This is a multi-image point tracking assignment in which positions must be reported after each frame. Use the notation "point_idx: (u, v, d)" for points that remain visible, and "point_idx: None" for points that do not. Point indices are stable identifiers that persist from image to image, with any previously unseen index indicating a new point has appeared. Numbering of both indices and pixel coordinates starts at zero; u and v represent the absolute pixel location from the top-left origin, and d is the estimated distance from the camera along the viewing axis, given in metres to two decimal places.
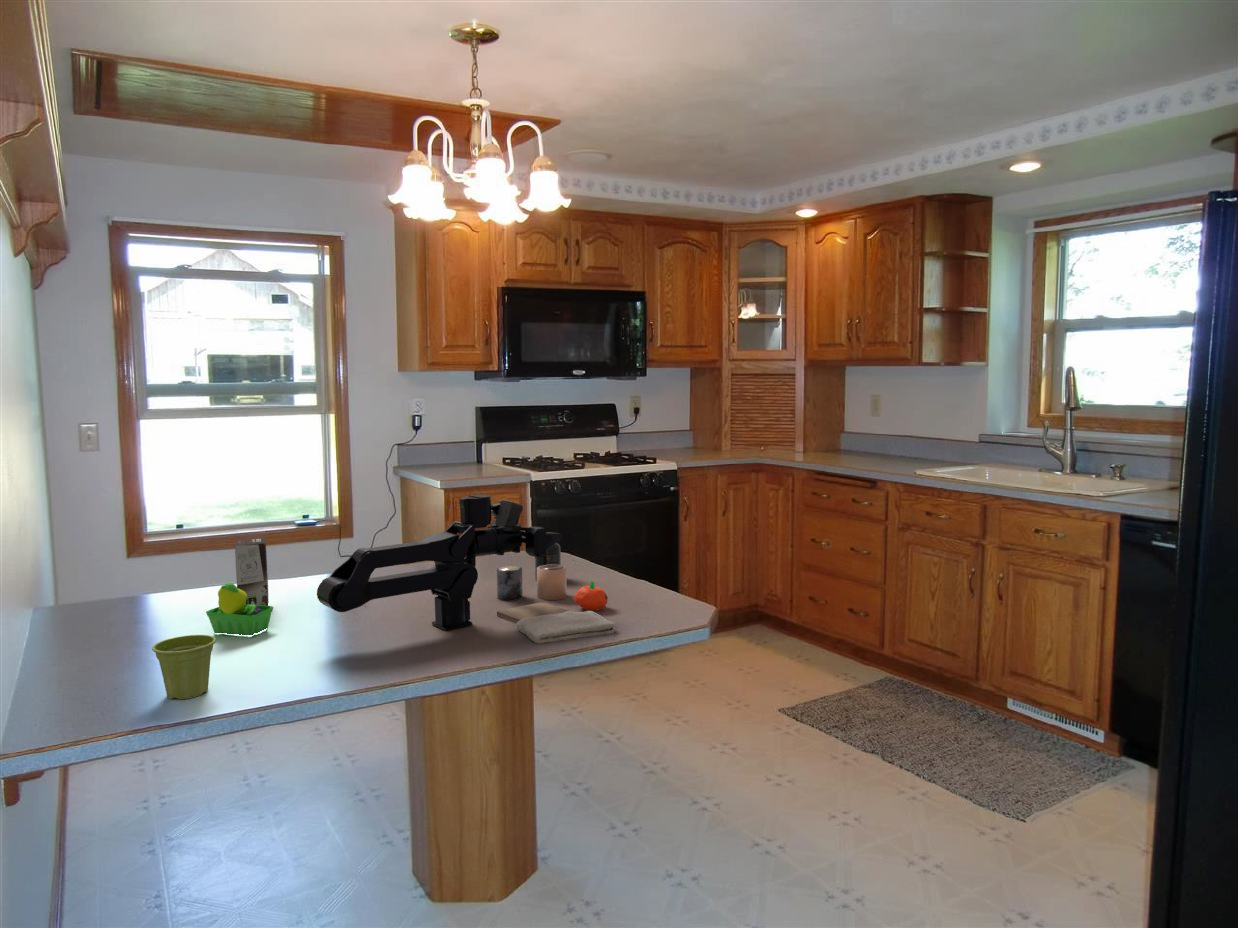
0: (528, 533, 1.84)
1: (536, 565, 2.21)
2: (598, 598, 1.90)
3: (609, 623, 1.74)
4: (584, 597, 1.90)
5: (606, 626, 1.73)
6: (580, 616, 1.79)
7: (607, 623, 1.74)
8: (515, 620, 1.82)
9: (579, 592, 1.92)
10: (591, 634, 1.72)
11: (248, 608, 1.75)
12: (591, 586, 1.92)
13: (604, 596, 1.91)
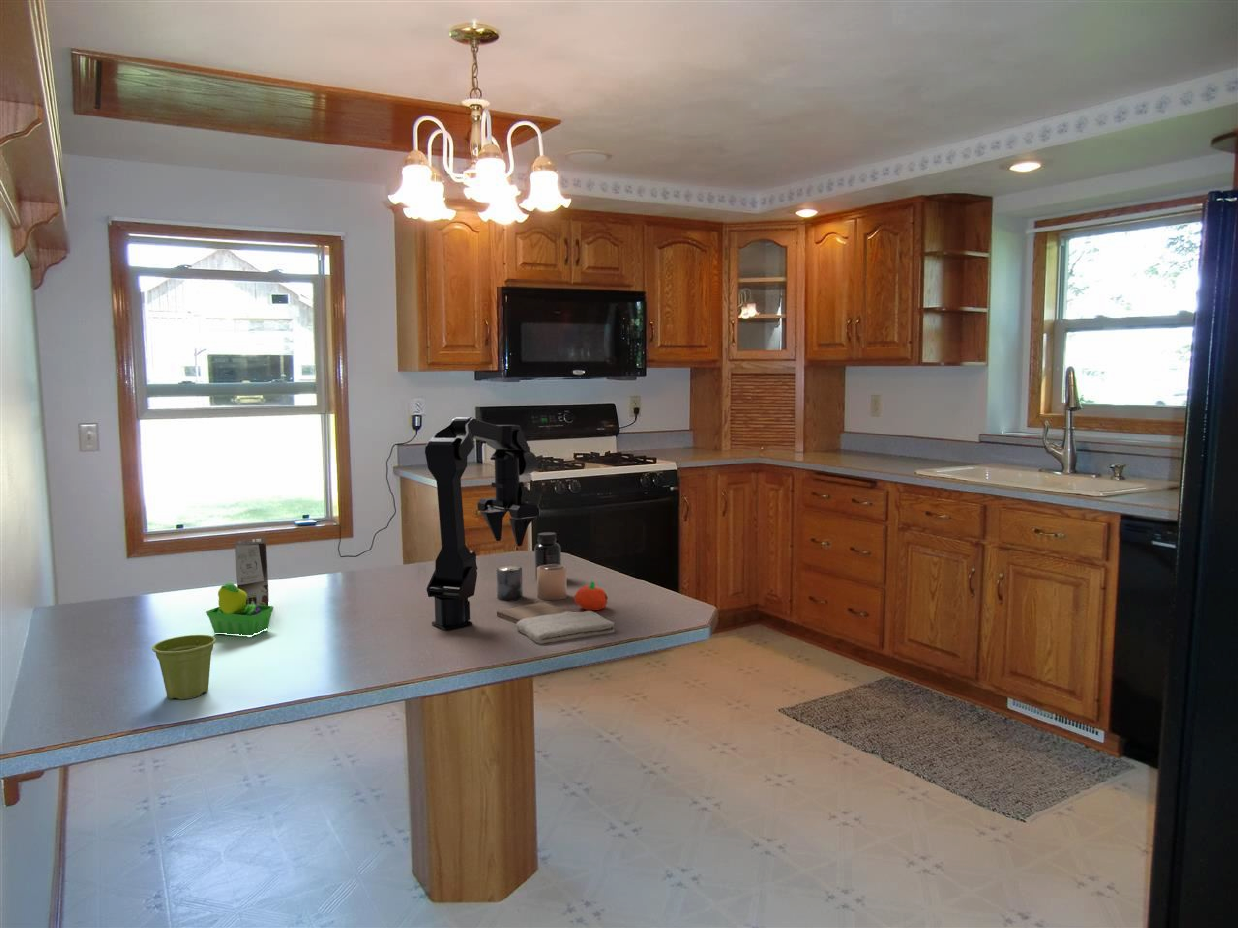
0: (530, 503, 1.98)
1: (536, 565, 2.21)
2: (598, 598, 1.90)
3: (609, 623, 1.74)
4: (584, 597, 1.90)
5: (607, 626, 1.74)
6: (580, 616, 1.79)
7: (607, 623, 1.74)
8: (515, 620, 1.82)
9: (579, 592, 1.92)
10: (592, 634, 1.73)
11: (248, 608, 1.75)
12: (591, 586, 1.92)
13: (604, 596, 1.91)
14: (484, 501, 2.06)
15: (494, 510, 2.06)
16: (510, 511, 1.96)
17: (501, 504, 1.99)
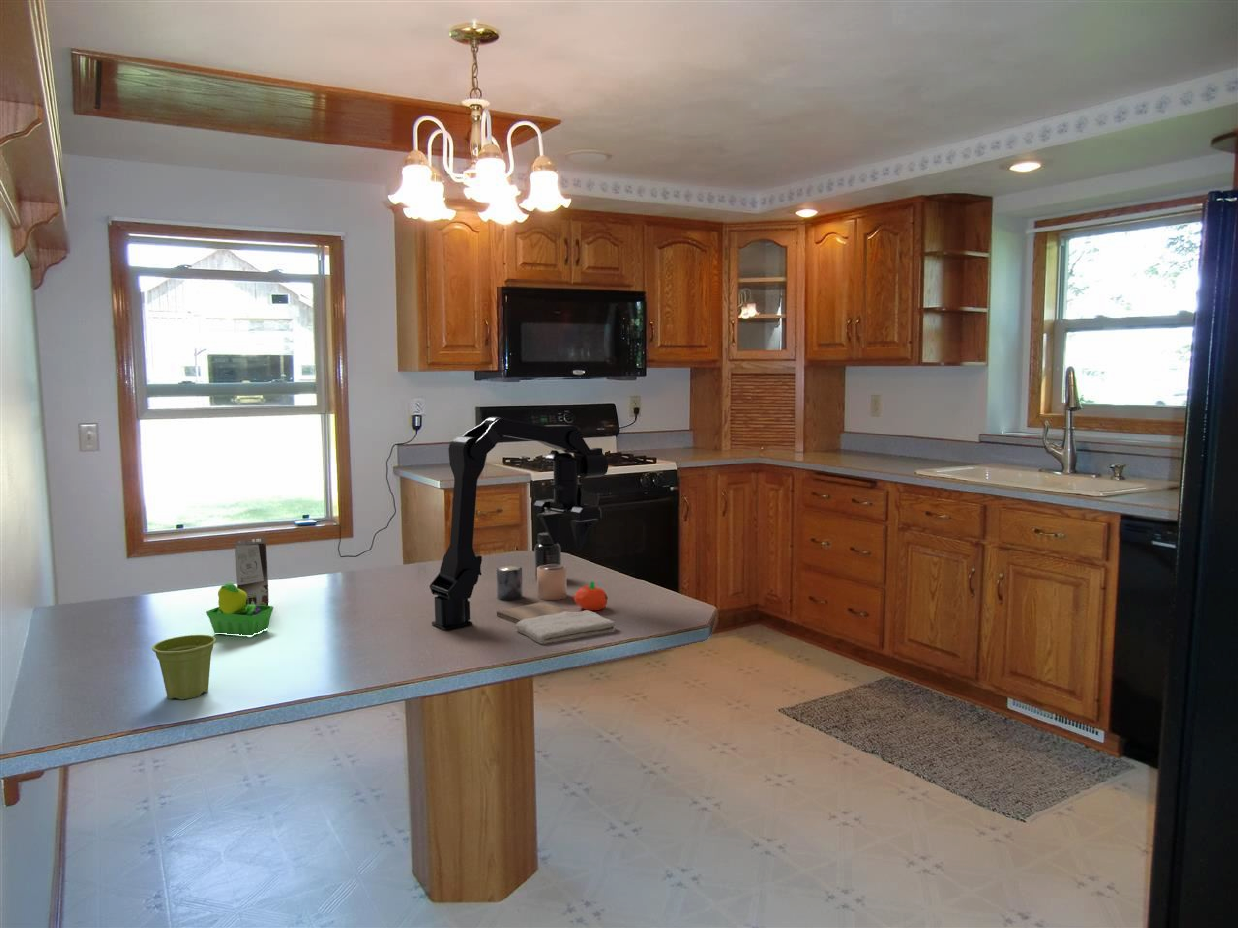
0: (591, 505, 1.94)
1: (536, 565, 2.21)
2: (598, 598, 1.90)
3: (610, 622, 1.75)
4: (584, 597, 1.90)
5: (607, 625, 1.74)
6: (579, 616, 1.80)
7: (608, 622, 1.75)
8: (515, 620, 1.82)
9: (579, 592, 1.92)
10: (593, 633, 1.73)
11: (248, 608, 1.75)
12: (591, 586, 1.92)
13: (604, 596, 1.91)
14: (541, 503, 2.01)
15: (551, 512, 2.02)
16: (571, 513, 1.92)
17: (561, 506, 1.95)
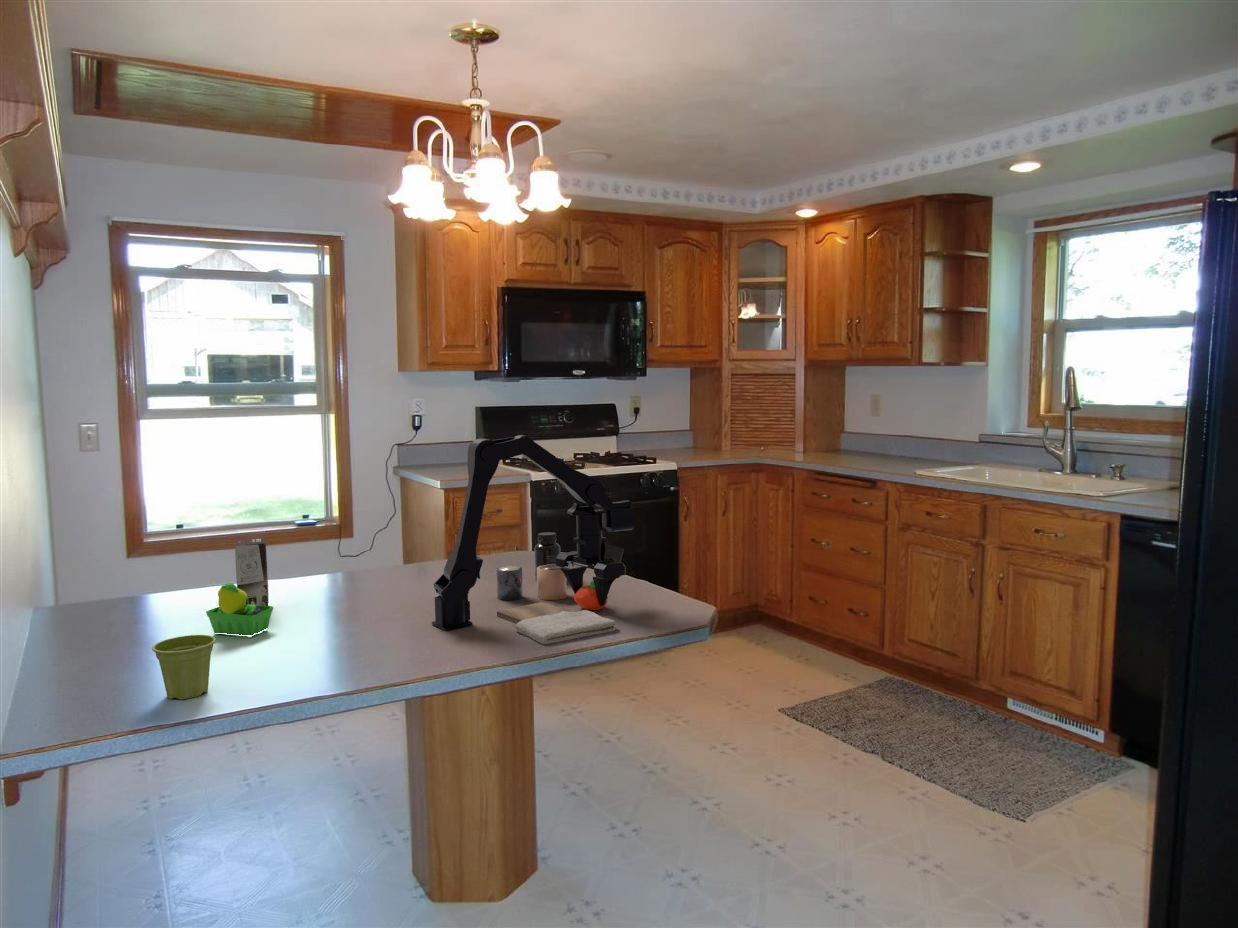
0: (615, 561, 1.88)
1: (536, 565, 2.21)
2: None
3: (610, 621, 1.76)
4: (584, 597, 1.90)
5: (608, 624, 1.75)
6: (578, 616, 1.80)
7: (608, 621, 1.75)
8: (515, 620, 1.82)
9: (579, 592, 1.92)
10: (594, 633, 1.73)
11: (248, 608, 1.75)
12: (591, 586, 1.92)
13: None
14: (563, 557, 1.96)
15: (575, 566, 1.96)
16: (595, 570, 1.86)
17: (584, 562, 1.89)
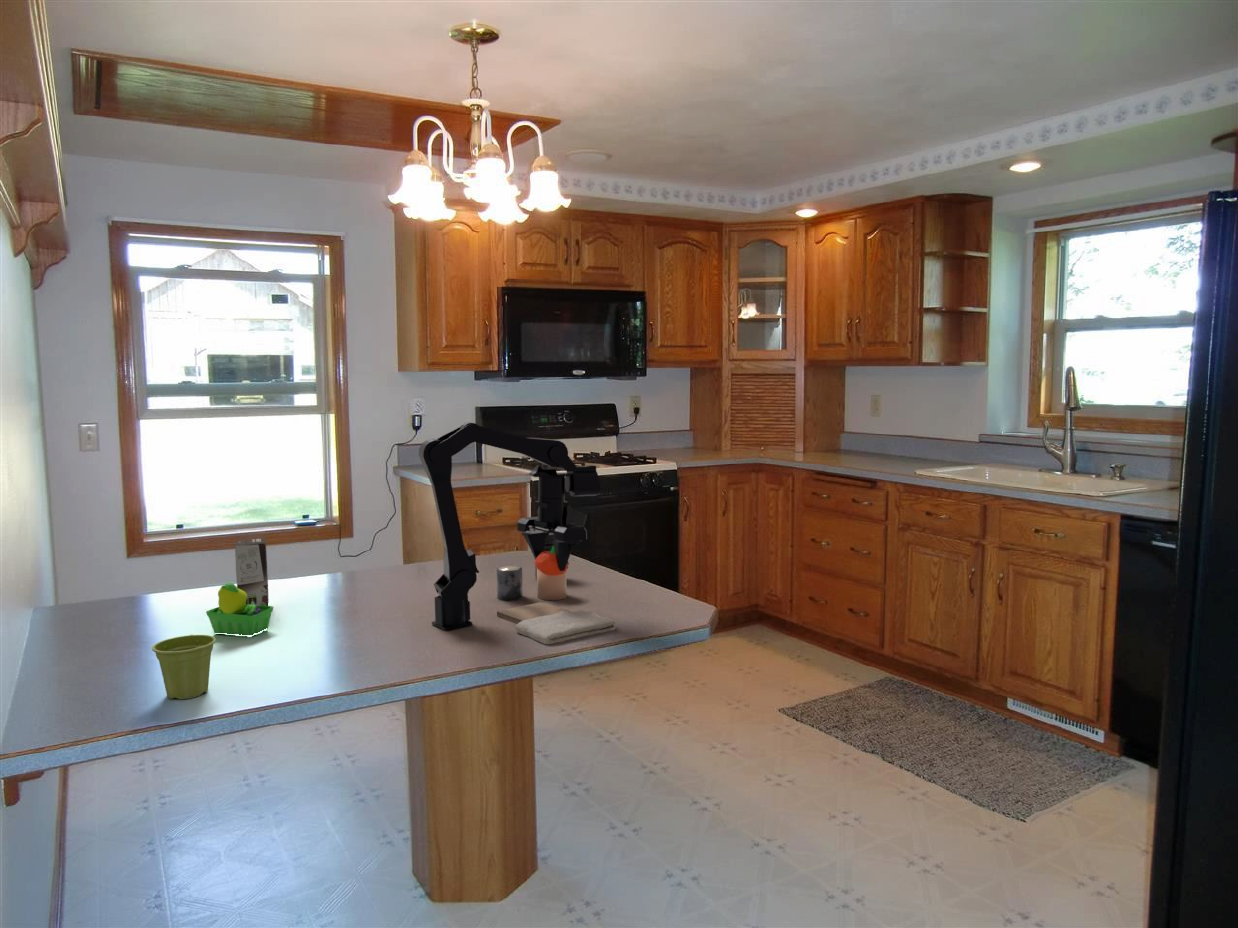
0: (576, 525, 1.84)
1: None
2: None
3: (610, 620, 1.76)
4: (544, 561, 1.85)
5: (608, 623, 1.75)
6: (577, 615, 1.80)
7: (609, 620, 1.76)
8: (515, 620, 1.82)
9: (539, 556, 1.87)
10: (595, 632, 1.74)
11: (248, 608, 1.75)
12: (552, 551, 1.87)
13: None
14: (525, 521, 1.91)
15: (536, 531, 1.91)
16: (555, 533, 1.81)
17: (545, 525, 1.84)
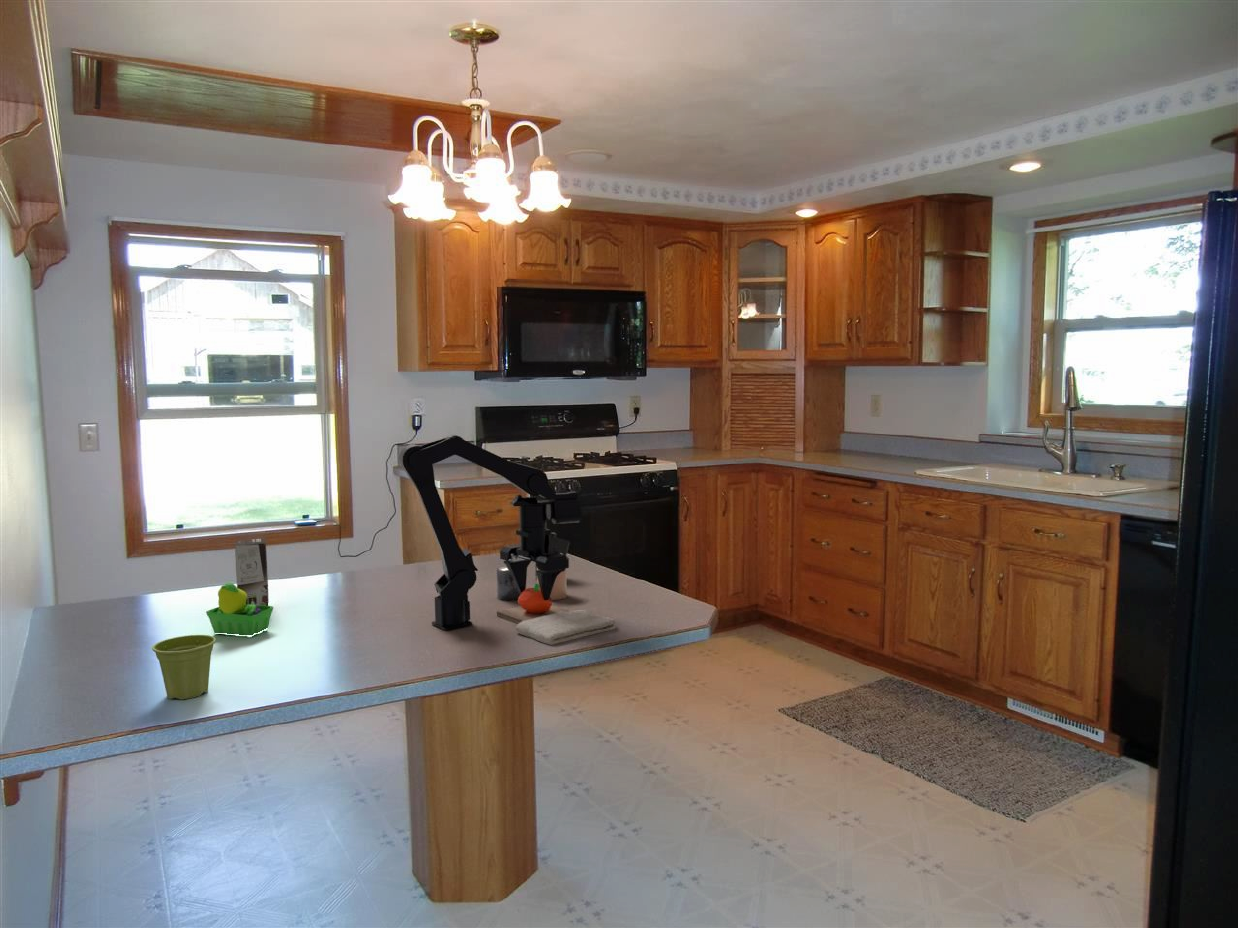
0: None
1: None
2: (541, 601, 1.84)
3: (611, 620, 1.77)
4: (527, 599, 1.84)
5: (609, 623, 1.76)
6: (576, 615, 1.80)
7: (609, 620, 1.77)
8: (515, 620, 1.82)
9: (523, 594, 1.86)
10: (596, 632, 1.74)
11: (248, 608, 1.75)
12: (535, 588, 1.86)
13: None
14: (507, 549, 1.89)
15: (518, 559, 1.90)
16: (537, 563, 1.80)
17: (527, 554, 1.83)
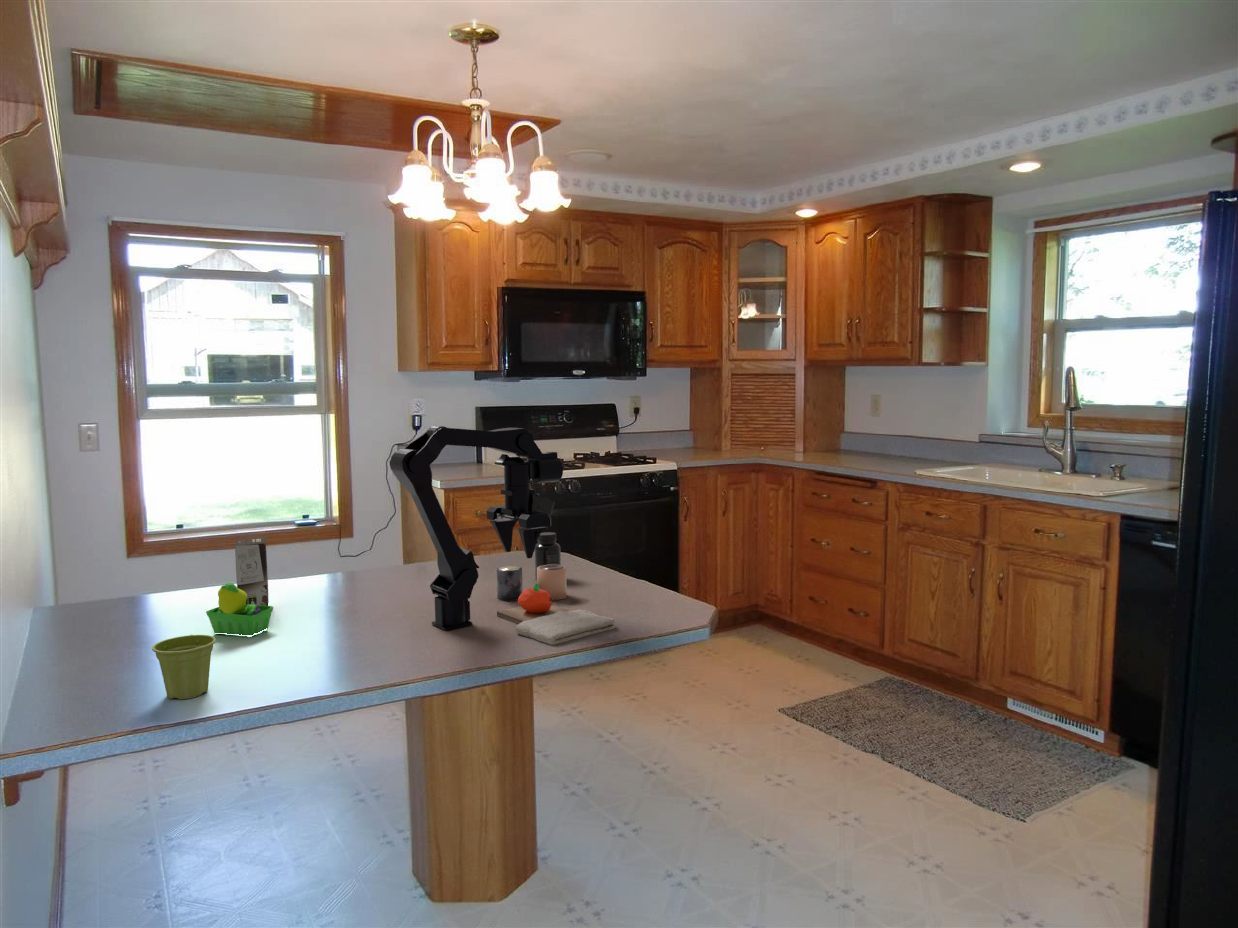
0: (541, 512, 1.85)
1: (536, 565, 2.21)
2: (541, 601, 1.84)
3: (610, 619, 1.77)
4: (527, 599, 1.84)
5: (609, 622, 1.76)
6: (575, 615, 1.80)
7: (609, 619, 1.77)
8: (515, 620, 1.82)
9: (522, 594, 1.86)
10: (596, 631, 1.74)
11: (248, 608, 1.75)
12: (535, 588, 1.86)
13: (548, 599, 1.85)
14: (493, 509, 1.93)
15: (504, 519, 1.93)
16: (519, 520, 1.83)
17: (510, 513, 1.86)
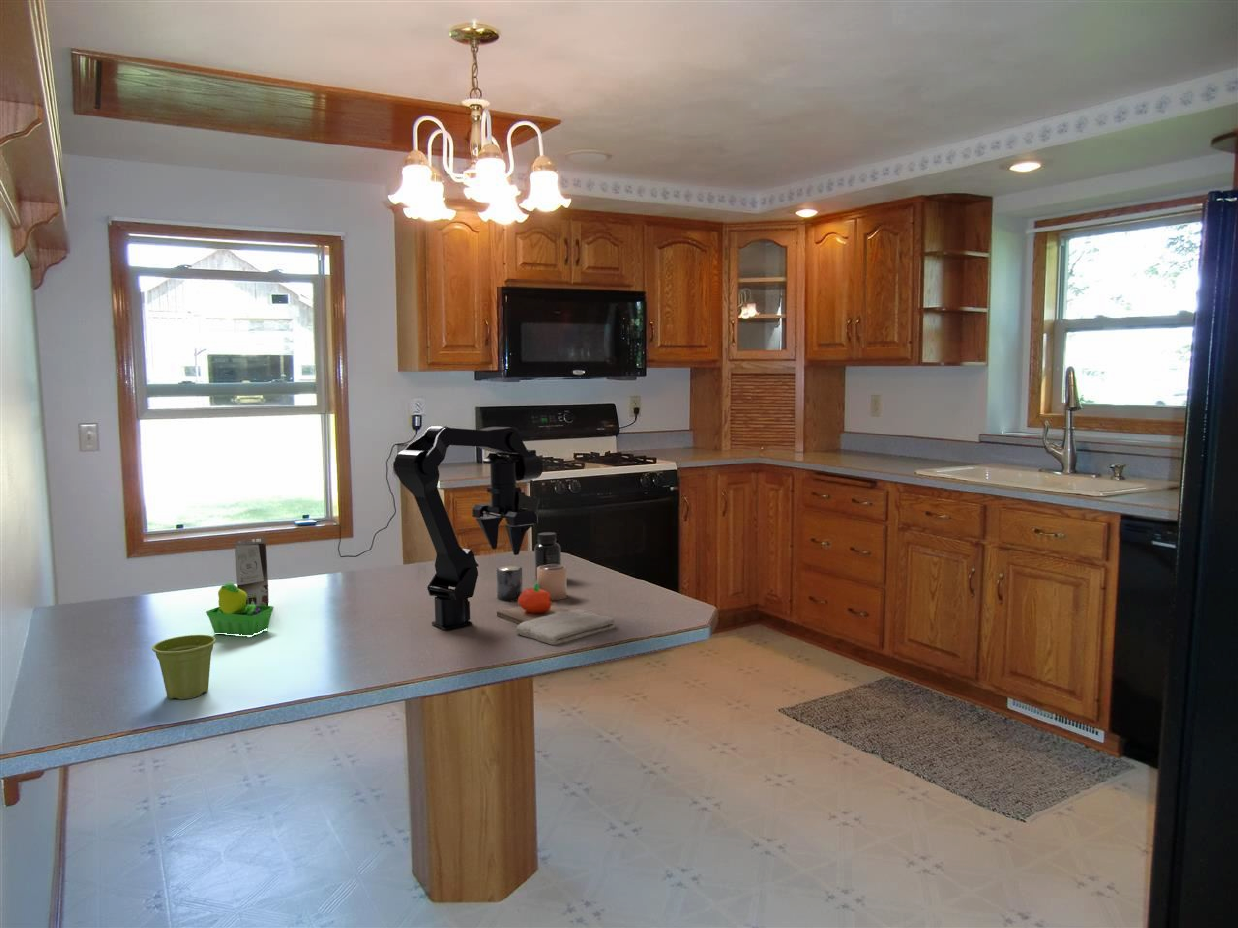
0: (528, 509, 1.88)
1: (536, 565, 2.21)
2: (541, 601, 1.84)
3: (610, 618, 1.77)
4: (527, 599, 1.84)
5: (609, 622, 1.77)
6: (575, 615, 1.80)
7: (609, 619, 1.77)
8: (515, 620, 1.82)
9: (522, 594, 1.86)
10: (597, 631, 1.75)
11: (248, 608, 1.75)
12: (535, 588, 1.86)
13: (548, 599, 1.85)
14: (479, 507, 1.96)
15: (490, 516, 1.96)
16: (506, 518, 1.86)
17: (497, 510, 1.89)
